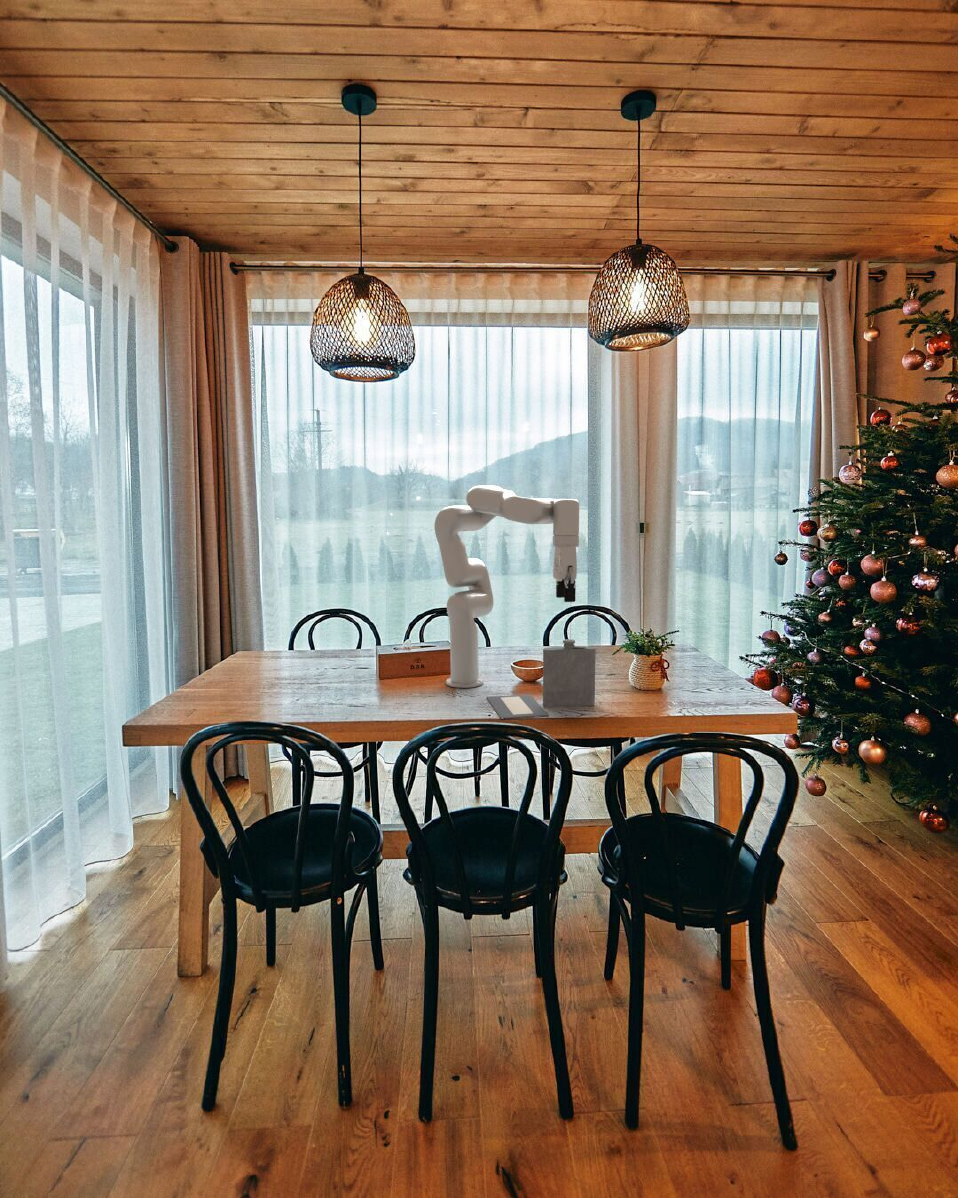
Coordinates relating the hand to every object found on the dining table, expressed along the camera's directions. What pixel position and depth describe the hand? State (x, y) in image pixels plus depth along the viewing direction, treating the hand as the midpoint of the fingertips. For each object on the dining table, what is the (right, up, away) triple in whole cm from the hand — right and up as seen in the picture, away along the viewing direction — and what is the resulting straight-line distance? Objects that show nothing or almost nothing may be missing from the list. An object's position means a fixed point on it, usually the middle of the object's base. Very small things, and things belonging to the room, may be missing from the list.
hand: (565, 599), depth 204 cm
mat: (-14, -32, +4) cm, 35 cm away
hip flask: (+2, -32, +5) cm, 33 cm away
